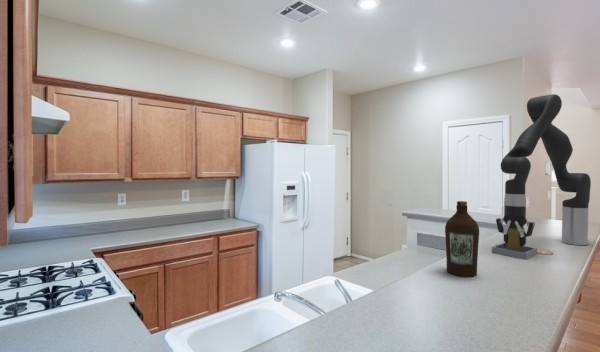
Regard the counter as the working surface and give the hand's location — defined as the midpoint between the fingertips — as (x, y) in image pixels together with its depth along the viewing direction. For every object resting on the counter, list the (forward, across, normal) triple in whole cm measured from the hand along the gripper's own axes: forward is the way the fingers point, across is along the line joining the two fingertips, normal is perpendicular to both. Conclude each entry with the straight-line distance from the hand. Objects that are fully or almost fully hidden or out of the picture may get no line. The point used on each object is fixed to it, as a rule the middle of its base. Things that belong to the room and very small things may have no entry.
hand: (514, 244), depth 132 cm
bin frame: (+4, 0, 0) cm, 4 cm away
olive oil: (+4, +2, +41) cm, 41 cm away
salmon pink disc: (+4, -7, -11) cm, 14 cm away
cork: (+4, 0, 0) cm, 4 cm away
